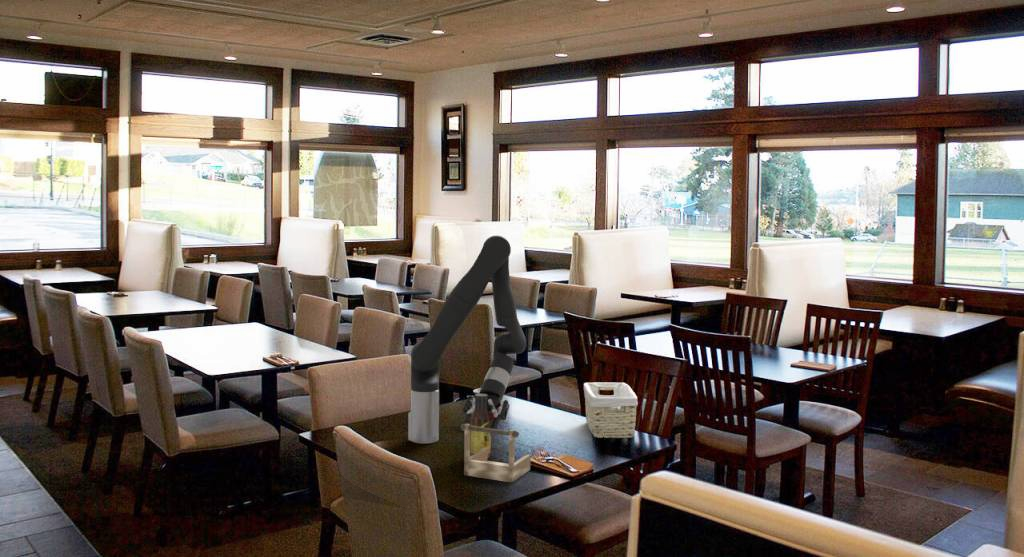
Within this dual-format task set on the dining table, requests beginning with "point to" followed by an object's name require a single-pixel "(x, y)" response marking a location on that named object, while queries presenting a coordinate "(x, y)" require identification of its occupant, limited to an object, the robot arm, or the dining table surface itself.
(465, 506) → the dining table surface
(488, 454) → the sauce bottle
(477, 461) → the wooden table caddy
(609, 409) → the storage basket
